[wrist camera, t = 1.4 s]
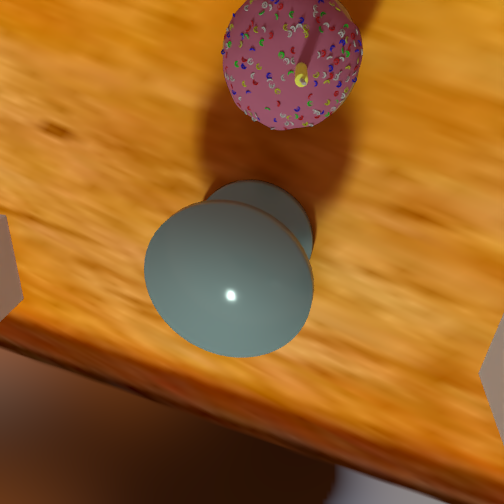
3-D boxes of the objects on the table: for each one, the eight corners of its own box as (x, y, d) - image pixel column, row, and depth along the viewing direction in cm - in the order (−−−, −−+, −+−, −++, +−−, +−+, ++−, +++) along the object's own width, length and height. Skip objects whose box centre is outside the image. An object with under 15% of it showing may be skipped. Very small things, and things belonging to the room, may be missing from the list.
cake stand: (345, 194, 36) (336, 240, 29) (301, 315, 42) (284, 379, 35) (200, 148, 38) (156, 180, 30) (177, 272, 43) (135, 324, 36)
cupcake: (379, -1, 30) (378, -10, 20) (344, 129, 34) (327, 179, 24) (252, -27, 31) (187, -48, 21) (232, 102, 35) (169, 139, 25)
